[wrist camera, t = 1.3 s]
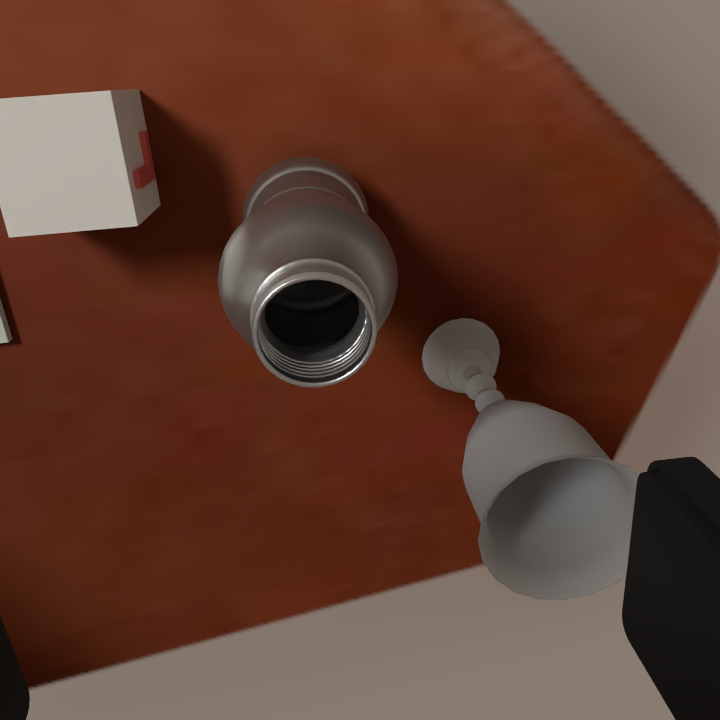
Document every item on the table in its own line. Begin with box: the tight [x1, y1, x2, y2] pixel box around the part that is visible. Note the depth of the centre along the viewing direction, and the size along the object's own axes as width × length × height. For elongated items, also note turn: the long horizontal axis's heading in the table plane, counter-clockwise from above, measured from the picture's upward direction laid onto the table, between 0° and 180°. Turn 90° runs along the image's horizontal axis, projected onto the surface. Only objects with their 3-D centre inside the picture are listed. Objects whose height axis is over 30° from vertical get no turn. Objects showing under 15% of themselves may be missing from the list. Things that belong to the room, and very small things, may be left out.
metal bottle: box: [218, 157, 398, 388], centre depth 28 cm, size 6×7×20 cm
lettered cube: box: [0, 89, 161, 237], centre depth 33 cm, size 6×6×6 cm
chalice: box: [422, 318, 639, 600], centre depth 34 cm, size 7×7×18 cm
